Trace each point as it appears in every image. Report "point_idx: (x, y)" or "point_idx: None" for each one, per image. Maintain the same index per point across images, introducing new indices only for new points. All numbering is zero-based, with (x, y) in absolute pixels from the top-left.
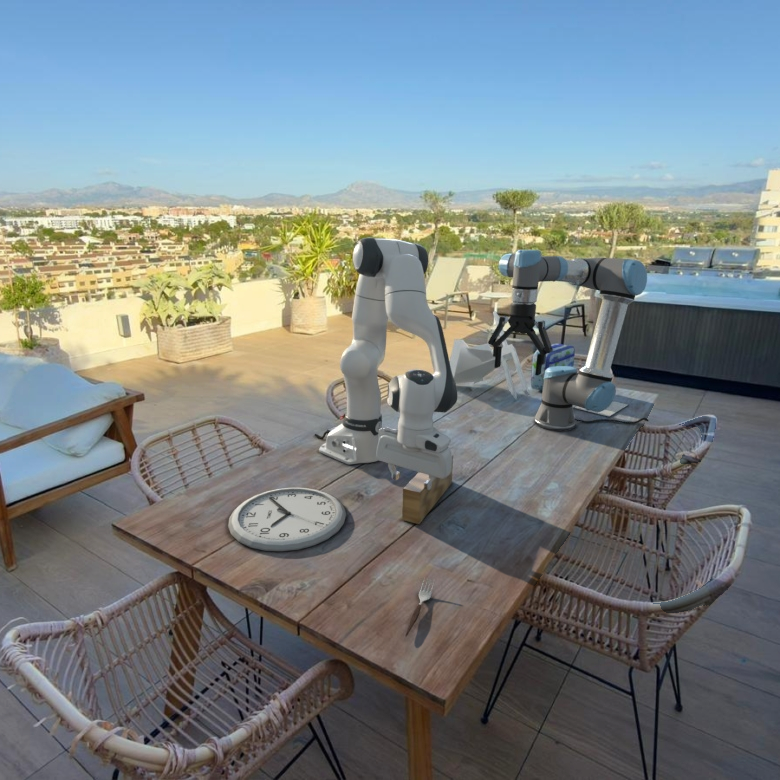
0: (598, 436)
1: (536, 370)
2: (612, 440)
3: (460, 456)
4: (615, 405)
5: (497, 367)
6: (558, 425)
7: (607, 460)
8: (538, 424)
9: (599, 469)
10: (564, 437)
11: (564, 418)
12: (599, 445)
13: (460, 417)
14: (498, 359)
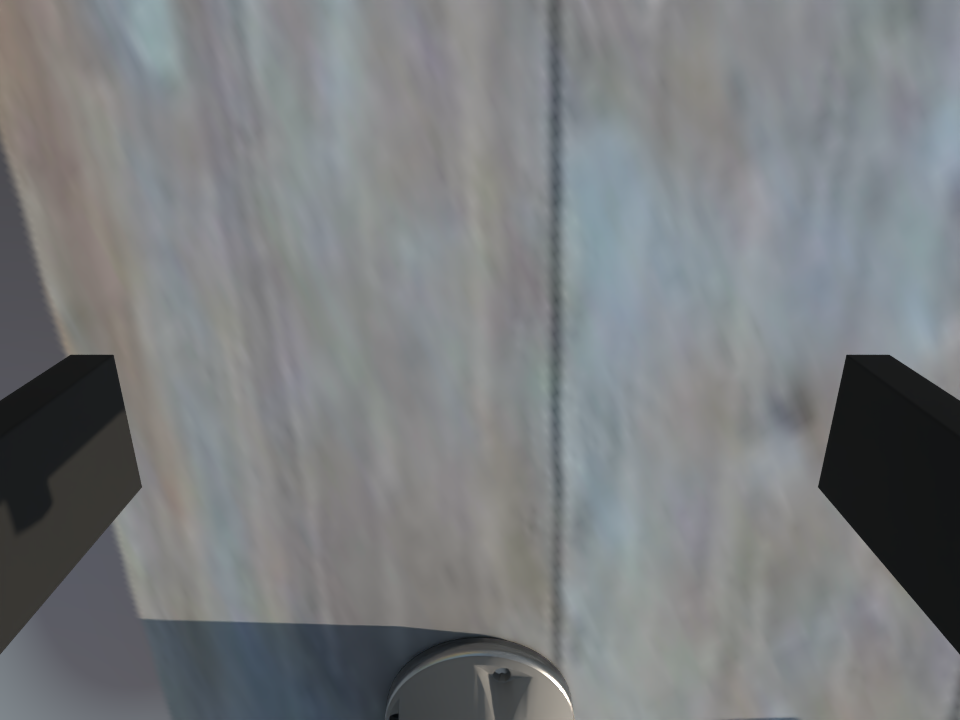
0: (267, 689)
1: (46, 388)
2: (203, 683)
3: (728, 46)
4: None
5: (841, 389)
6: (431, 669)
7: None
8: (530, 654)
9: None
10: (378, 601)
11: (412, 718)
12: (218, 607)
13: None
14: (925, 477)
